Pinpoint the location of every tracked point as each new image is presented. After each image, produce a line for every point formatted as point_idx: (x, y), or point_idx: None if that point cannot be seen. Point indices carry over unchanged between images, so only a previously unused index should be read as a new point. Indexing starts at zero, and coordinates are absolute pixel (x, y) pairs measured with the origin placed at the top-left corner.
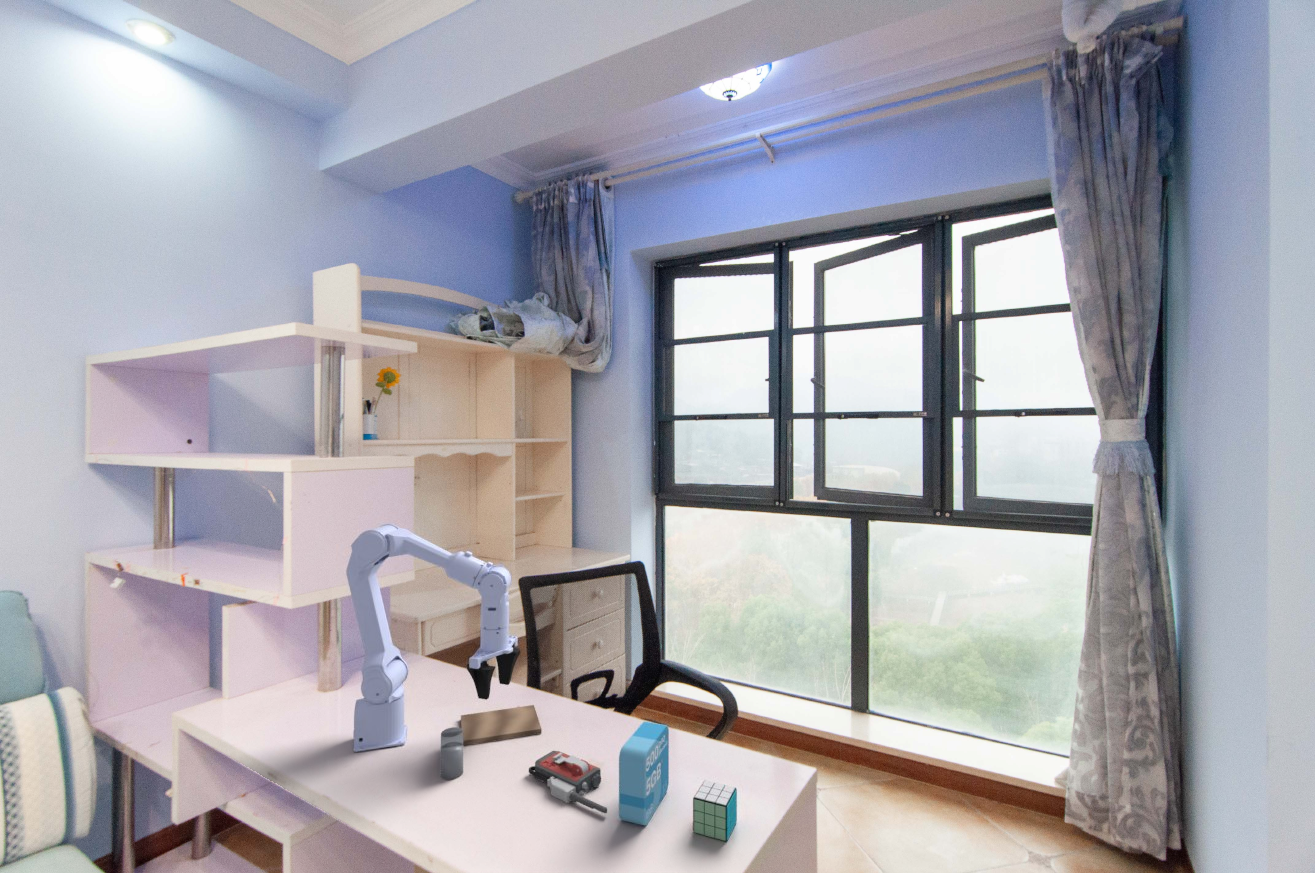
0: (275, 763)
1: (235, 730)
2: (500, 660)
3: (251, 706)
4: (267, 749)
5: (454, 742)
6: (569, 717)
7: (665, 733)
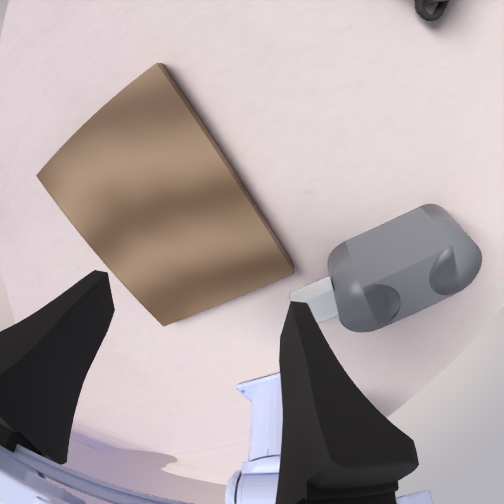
0: None
1: None
2: (64, 404)
3: None
4: None
5: (433, 275)
6: (51, 42)
7: None
